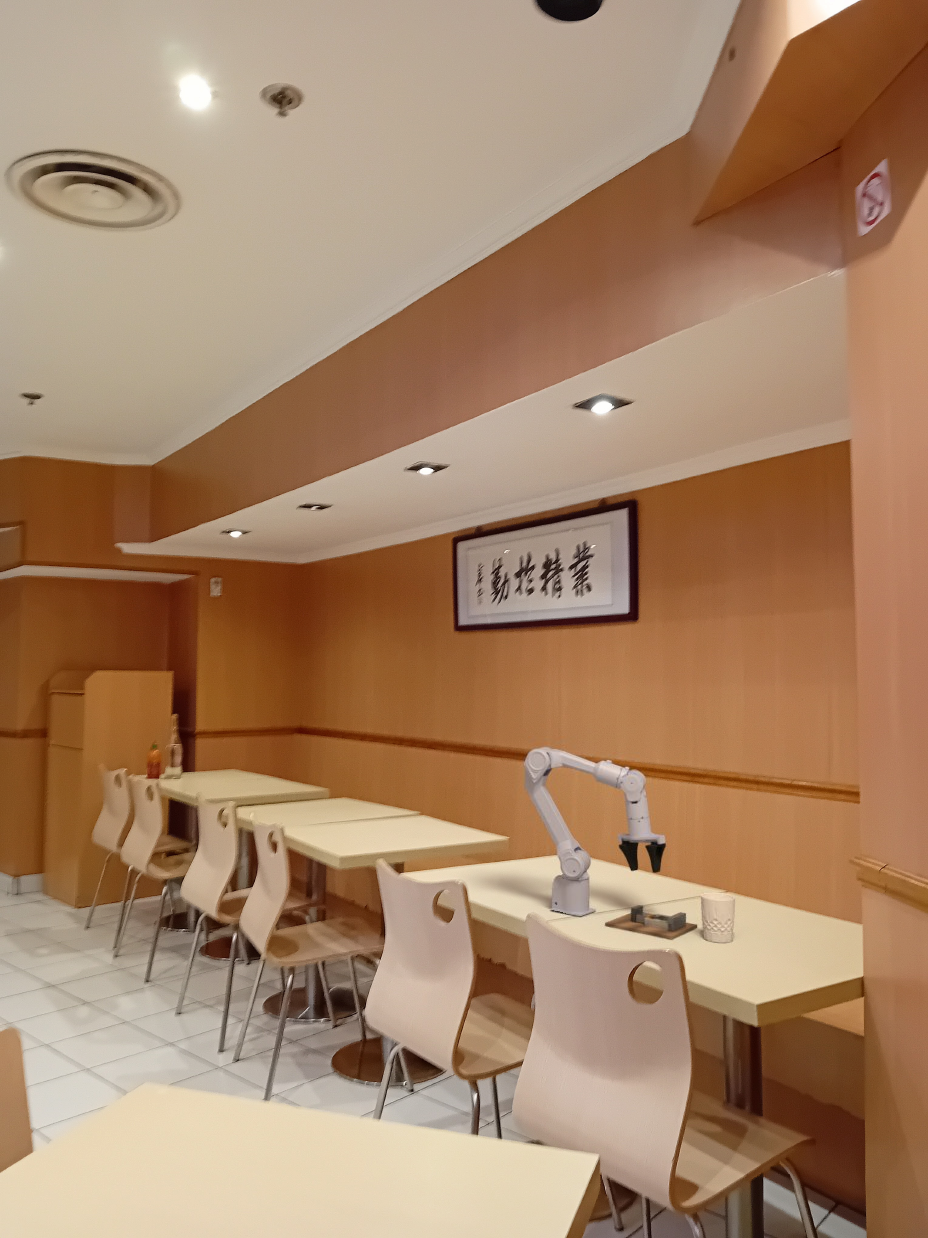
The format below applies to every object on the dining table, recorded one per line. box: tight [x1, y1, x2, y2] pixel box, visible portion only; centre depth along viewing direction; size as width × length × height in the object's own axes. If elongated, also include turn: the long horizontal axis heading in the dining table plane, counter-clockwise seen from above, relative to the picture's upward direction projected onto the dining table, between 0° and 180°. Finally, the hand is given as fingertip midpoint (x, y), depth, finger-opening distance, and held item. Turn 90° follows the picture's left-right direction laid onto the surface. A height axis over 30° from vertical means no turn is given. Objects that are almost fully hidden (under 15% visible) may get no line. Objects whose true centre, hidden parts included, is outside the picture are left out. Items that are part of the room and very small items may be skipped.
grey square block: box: [630, 904, 661, 924], centre depth 224 cm, size 6×6×3 cm
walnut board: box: [604, 912, 698, 941], centre depth 224 cm, size 18×14×1 cm
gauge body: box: [645, 911, 687, 932], centre depth 222 cm, size 8×7×3 cm
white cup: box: [700, 892, 736, 944], centre depth 214 cm, size 8×8×10 cm
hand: (645, 871), depth 233 cm, fingers open, 7 cm apart
